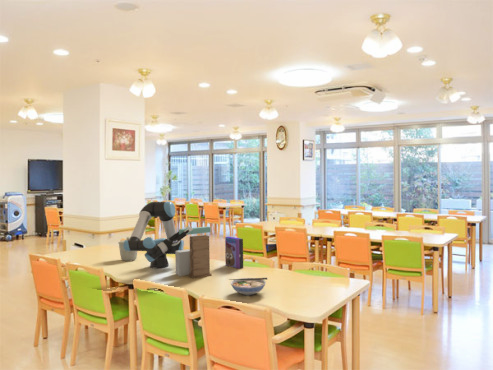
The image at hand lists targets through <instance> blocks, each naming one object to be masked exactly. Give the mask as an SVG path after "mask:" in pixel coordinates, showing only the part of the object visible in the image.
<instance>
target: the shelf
mask: <svg viewBox="0 0 493 370" xmlns="http://www.w3.org/2000/svg"><path fill="white" fill-rule="evenodd" d="M174 255H175V275H177V276H178V277H184V276H189V275H188V274H190V248H187V249H183V250H178V251H175V254H174Z"/></svg>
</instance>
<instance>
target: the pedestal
mask: <svg viewBox="0 0 493 370" xmlns="http://www.w3.org/2000/svg"><path fill="white" fill-rule="evenodd" d="M189 249H190V274H188V275H187V276H188V277H190V278H192V279H198V278H203V277H204V278H205V277H211V276H212V273H211V269H210V267H211V266H210V264H211V263H210V235H208V234H202V235H201V234H200V235H199V234H198V235H193V236H192V235H189Z"/></svg>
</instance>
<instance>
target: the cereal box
mask: <svg viewBox="0 0 493 370" xmlns="http://www.w3.org/2000/svg"><path fill="white" fill-rule="evenodd" d="M224 240H225V241H224V242H225V243H224V246H225V247H224V248H225V250H224V251H225V258H224V259H225V267H230V268H234V269H239V270H240V269H243V268H244V239H243V238H240V237H235V236H225V238H224Z"/></svg>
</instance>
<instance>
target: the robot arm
mask: <svg viewBox="0 0 493 370" xmlns="http://www.w3.org/2000/svg"><path fill="white" fill-rule="evenodd" d="M175 215H176V206H175V204H174V203H173V202H172V201H151V202H148V203H146V204H145V205H144V206H143V207H142V208H141V210H140V212H139V214H138V219H137V221H136V224H135V226H134V228H133V230H132V233H131V235H130V236H129V237H130V239H129V240H127V239H124V240H125V241H124V244H123V247H124V250H125V251H137V252H145V253H144V257H145V259H146V261H148V263H150V264H149V266H150V269H151V268H152V269H164V268H168V267H169V261H168V258H167V255H175V251H178V250H184V247H185V246H184V245H185V244H184V243H185V242H184V240H183V239H184V238H185V237H187V236H188V235H186V234H187V233H189V232H190V231H192V230H193V228H194V227H192V226H190V225H188V226H186V227H184V228H183V229H186V228H188V229H187V230H185V231H184V232H183V233H181V234H180V235H179V231H177V228H176V224H175V221H174V216H175ZM153 217H155V218H158V219H159V220H160V221H161V222H162V225H163V229H164V232H165V236H166V237H161V238H156V239H154V238H153V237H149V236H148V237H145V238H144V239H142V238H143V235H144V233H145V231H146V229H147V226H148V224H149V221H150V220H152V218H153Z"/></svg>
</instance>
